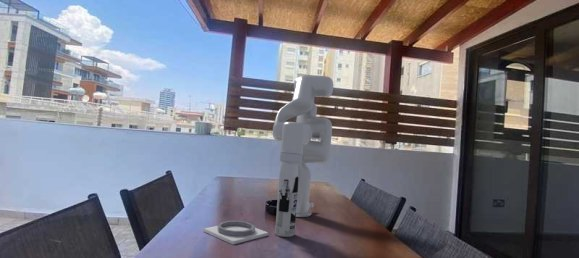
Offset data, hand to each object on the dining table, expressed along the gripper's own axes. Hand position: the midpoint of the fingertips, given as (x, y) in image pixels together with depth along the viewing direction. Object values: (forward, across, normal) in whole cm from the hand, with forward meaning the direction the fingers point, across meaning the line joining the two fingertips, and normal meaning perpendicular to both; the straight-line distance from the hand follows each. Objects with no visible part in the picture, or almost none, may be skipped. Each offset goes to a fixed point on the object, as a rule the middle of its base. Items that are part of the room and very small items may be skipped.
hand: (286, 208), depth 118 cm
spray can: (+9, -1, 0) cm, 9 cm away
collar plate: (+9, +6, -15) cm, 19 cm away
